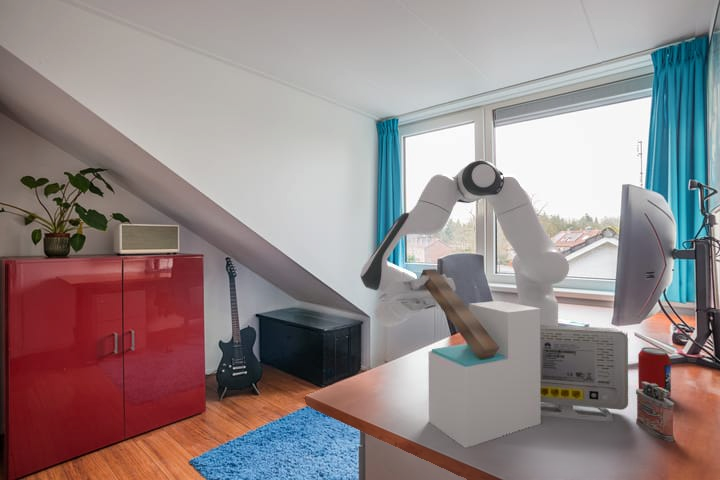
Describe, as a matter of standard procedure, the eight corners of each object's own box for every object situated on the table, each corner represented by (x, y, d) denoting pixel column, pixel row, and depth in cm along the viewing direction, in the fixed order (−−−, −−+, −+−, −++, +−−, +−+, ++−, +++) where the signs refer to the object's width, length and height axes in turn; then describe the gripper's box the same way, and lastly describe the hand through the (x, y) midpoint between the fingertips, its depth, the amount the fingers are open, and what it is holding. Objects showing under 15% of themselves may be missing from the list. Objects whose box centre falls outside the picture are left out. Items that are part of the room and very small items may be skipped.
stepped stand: (428, 421, 84) (428, 307, 84) (499, 402, 94) (498, 300, 94) (465, 448, 73) (464, 317, 73) (540, 423, 83) (540, 308, 83)
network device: (616, 406, 91) (616, 326, 91) (634, 423, 83) (633, 335, 83) (507, 397, 97) (506, 321, 97) (512, 412, 88) (512, 329, 89)
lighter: (631, 422, 84) (631, 378, 84) (645, 421, 84) (645, 377, 84) (664, 441, 76) (663, 392, 76) (679, 440, 76) (679, 392, 76)
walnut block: (419, 278, 96) (423, 269, 94) (431, 277, 97) (435, 269, 96) (479, 359, 77) (485, 349, 75) (493, 356, 78) (499, 347, 77)
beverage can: (677, 401, 94) (676, 354, 94) (647, 399, 95) (646, 353, 95) (661, 391, 101) (661, 347, 101) (633, 389, 102) (633, 345, 102)
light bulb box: (590, 352, 135) (590, 323, 135) (583, 356, 131) (583, 326, 131) (559, 346, 144) (559, 318, 144) (552, 349, 139) (552, 321, 139)
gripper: (373, 289, 100) (397, 267, 90) (434, 285, 109) (462, 265, 99) (379, 311, 98) (404, 291, 87) (441, 305, 107) (470, 286, 96)
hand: (435, 277), depth 93 cm, fingers closed on walnut block, 4 cm apart
